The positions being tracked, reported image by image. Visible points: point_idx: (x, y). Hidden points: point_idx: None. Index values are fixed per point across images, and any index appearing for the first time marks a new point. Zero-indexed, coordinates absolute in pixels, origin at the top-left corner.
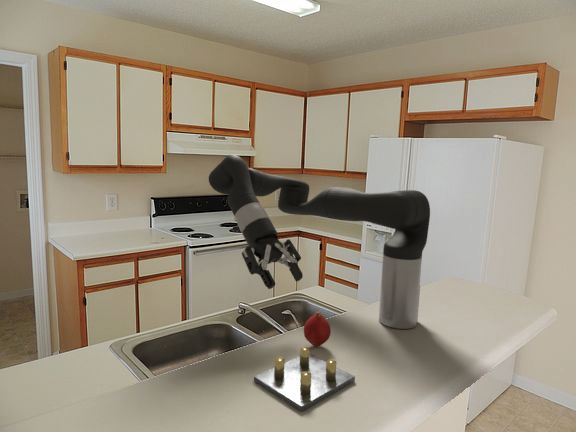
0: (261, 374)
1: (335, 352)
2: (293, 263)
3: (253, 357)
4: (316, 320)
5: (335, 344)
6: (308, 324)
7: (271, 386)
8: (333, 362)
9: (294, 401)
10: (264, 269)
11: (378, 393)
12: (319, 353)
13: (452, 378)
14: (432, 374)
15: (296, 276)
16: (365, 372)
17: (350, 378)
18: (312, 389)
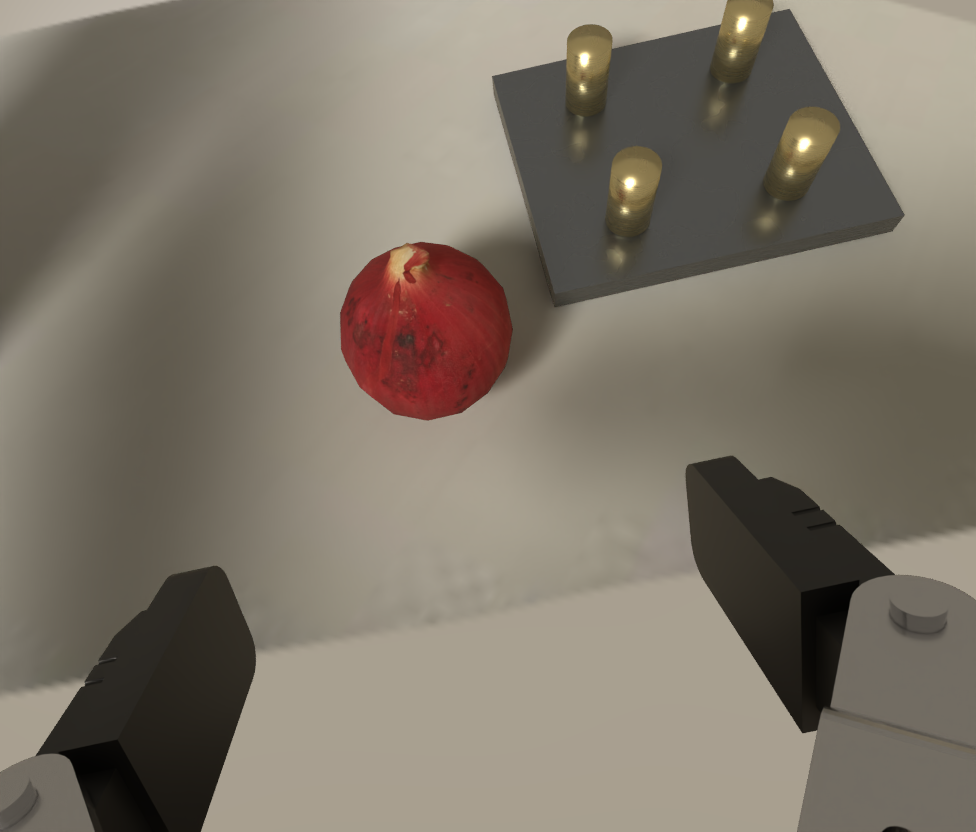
0: (864, 214)
1: None
2: (86, 791)
3: (822, 421)
4: (445, 258)
5: (335, 359)
6: (491, 299)
7: (852, 129)
8: (584, 34)
9: (802, 33)
10: (909, 581)
11: (472, 22)
12: None
13: (179, 3)
14: (209, 38)
15: (225, 652)
16: (408, 124)
17: (519, 70)
18: (700, 65)
